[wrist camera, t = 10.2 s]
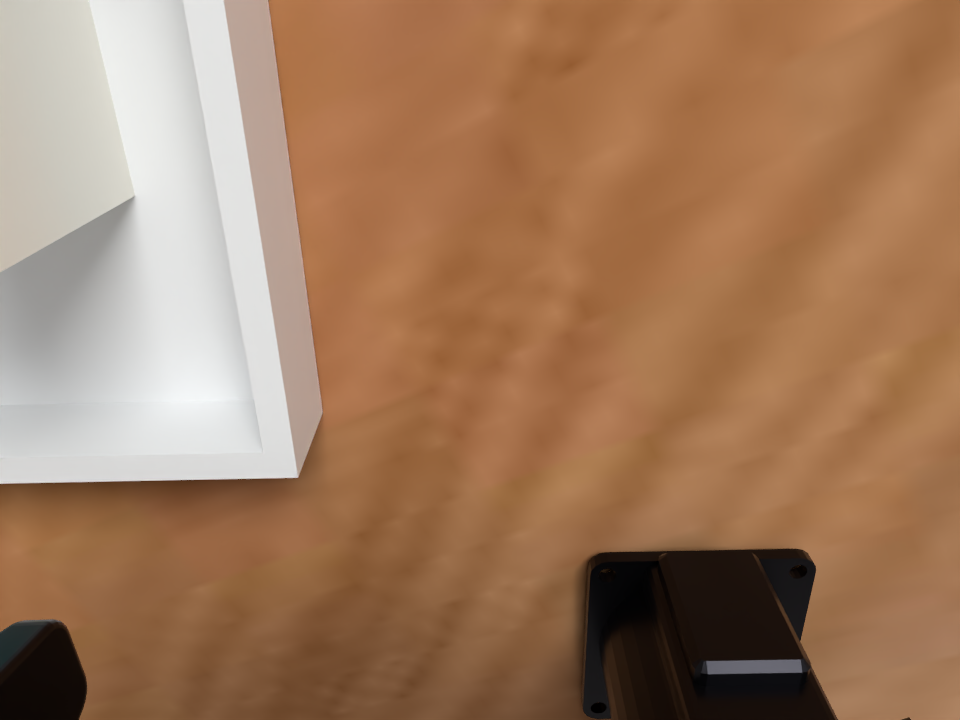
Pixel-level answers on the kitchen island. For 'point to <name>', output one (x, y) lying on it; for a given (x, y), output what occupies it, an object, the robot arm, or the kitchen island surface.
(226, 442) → the tray
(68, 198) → the block
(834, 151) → the kitchen island surface
